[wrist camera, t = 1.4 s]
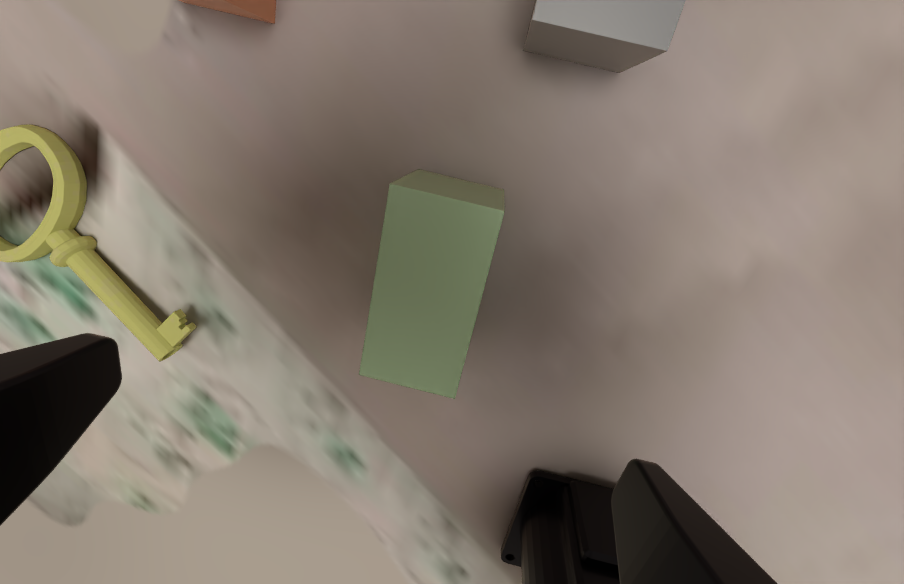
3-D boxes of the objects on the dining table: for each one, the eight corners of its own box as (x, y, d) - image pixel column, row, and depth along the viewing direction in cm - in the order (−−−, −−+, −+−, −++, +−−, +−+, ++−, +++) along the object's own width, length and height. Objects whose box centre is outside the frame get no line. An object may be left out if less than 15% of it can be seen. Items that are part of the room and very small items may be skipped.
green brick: (465, 337, 20) (454, 398, 16) (391, 318, 20) (358, 374, 16) (503, 189, 18) (504, 211, 13) (419, 168, 18) (390, 183, 13)
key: (199, 352, 23) (170, 373, 21) (-25, 227, 22) (-79, 237, 20) (246, 239, 20) (218, 251, 18) (-5, 91, 19) (-64, 86, 17)
